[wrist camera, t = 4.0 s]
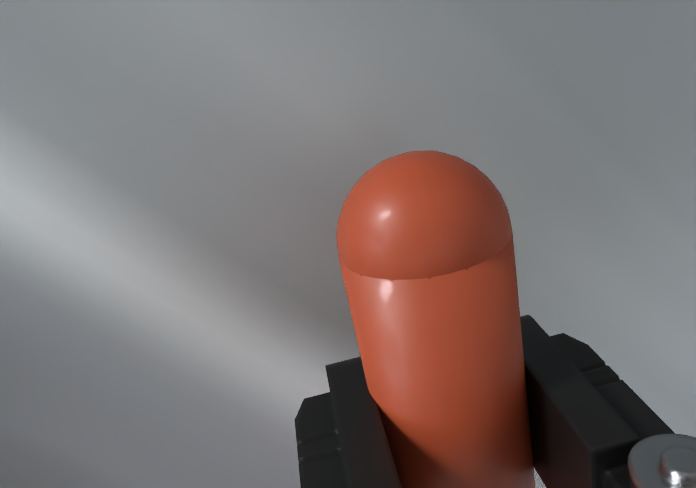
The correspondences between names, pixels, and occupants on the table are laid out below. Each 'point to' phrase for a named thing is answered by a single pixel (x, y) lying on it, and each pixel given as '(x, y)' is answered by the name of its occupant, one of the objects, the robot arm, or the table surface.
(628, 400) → the robot arm
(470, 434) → the terracotta spoon
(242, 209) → the table surface
